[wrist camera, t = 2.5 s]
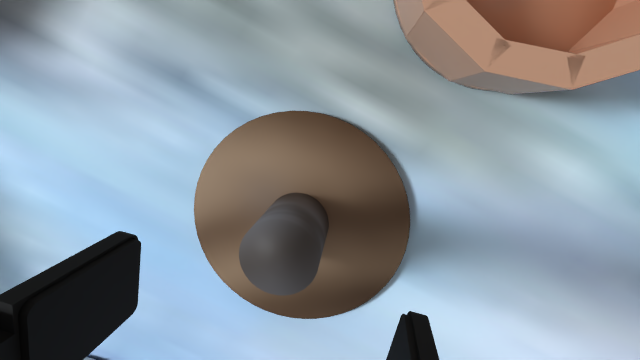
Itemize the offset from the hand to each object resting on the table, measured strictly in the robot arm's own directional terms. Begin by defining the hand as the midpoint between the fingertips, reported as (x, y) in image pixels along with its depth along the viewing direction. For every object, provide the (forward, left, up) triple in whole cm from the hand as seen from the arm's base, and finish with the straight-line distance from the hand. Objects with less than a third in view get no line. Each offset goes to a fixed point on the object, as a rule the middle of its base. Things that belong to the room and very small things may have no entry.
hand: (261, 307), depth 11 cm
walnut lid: (0, +1, -10) cm, 10 cm away
